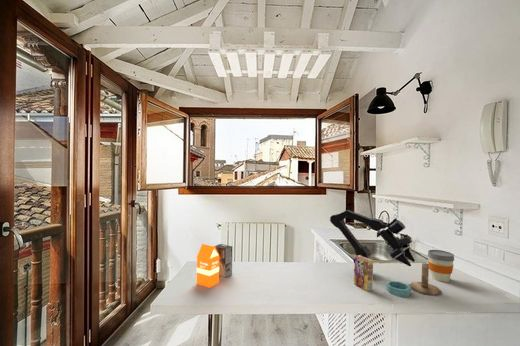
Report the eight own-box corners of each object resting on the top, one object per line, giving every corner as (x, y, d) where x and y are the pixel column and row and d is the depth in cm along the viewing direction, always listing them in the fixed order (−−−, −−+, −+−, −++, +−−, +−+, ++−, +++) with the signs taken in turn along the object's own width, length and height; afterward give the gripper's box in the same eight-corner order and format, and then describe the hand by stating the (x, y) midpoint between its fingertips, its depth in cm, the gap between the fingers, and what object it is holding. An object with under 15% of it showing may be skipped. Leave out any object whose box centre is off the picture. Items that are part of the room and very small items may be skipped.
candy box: (372, 289, 138) (373, 260, 138) (366, 291, 136) (367, 261, 136) (359, 282, 146) (360, 254, 146) (353, 284, 144) (354, 255, 144)
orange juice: (206, 278, 148) (206, 242, 147) (219, 282, 143) (219, 244, 143) (196, 283, 141) (196, 245, 140) (209, 287, 136) (210, 248, 136)
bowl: (391, 296, 131) (391, 289, 131) (384, 287, 141) (384, 280, 141) (413, 297, 130) (413, 290, 130) (404, 288, 140) (404, 281, 140)
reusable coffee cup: (440, 274, 161) (441, 249, 161) (459, 283, 148) (460, 256, 148) (421, 275, 159) (422, 249, 158) (439, 284, 146) (440, 256, 146)
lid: (417, 294, 133) (418, 267, 133) (405, 283, 146) (406, 259, 146) (445, 295, 132) (446, 269, 132) (431, 284, 145) (431, 260, 145)
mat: (416, 295, 132) (416, 294, 132) (403, 282, 147) (403, 282, 147) (448, 297, 131) (448, 296, 131) (432, 284, 146) (432, 283, 146)
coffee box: (232, 274, 155) (233, 246, 154) (225, 277, 149) (225, 248, 149) (220, 270, 160) (221, 243, 159) (213, 273, 154) (213, 246, 154)
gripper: (397, 233, 139) (421, 259, 132) (406, 227, 153) (428, 251, 146) (381, 245, 144) (403, 271, 137) (391, 239, 158) (411, 262, 151)
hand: (412, 263), depth 143 cm, fingers open, 9 cm apart
